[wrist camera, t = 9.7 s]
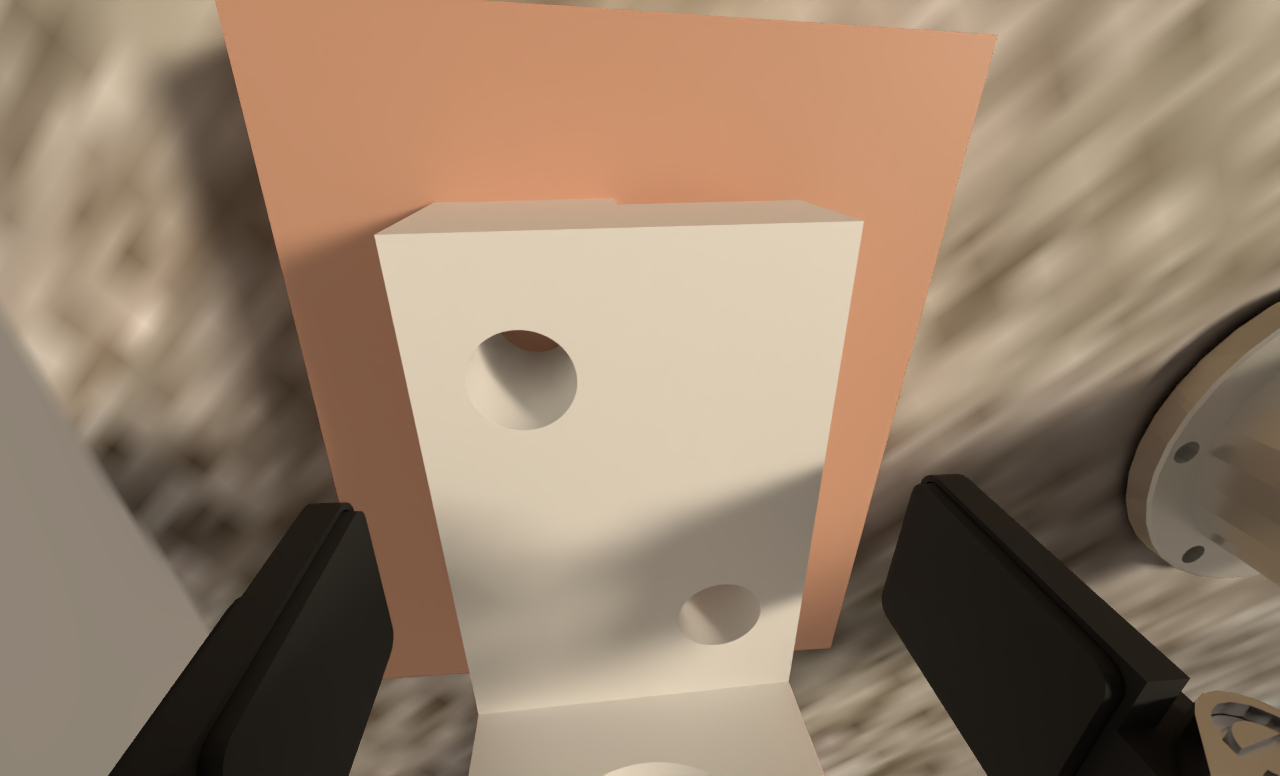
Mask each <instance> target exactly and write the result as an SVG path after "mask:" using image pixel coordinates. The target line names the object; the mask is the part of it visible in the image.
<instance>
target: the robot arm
mask: <svg viewBox="0 0 1280 776" xmlns="http://www.w3.org/2000/svg"><path fill="white" fill-rule="evenodd" d="M1126 504H1127V511H1128V519H1129V521H1130V523H1131V526H1132V528H1133V530H1134V532H1135V534H1136V536H1137V537H1138V538H1139V539H1140V540H1141V541H1142V542H1143V543H1144V544H1145V545H1146V546H1147V547H1148V548H1149V549H1150V550H1151V551H1153V552H1154V553H1155V554H1157V555H1158V556H1159V557H1161V558H1162V559H1164V560H1165V561H1166V562H1168V563H1169V564H1170V565H1172V566H1173V567H1175V568H1177V569H1179V570H1182V571H1185V572H1188V573H1191V574H1194V575H1197V576H1204V577H1214V578H1234V577H1247V576H1254V575H1259V574H1262V575H1264V576H1265V577H1267V578H1268V579H1270V580H1271V581H1273V582H1274V583H1276V584H1277V585H1279V586H1280V302H1278V303H1276V304H1274V305H1272V306H1270V307H1269V308H1267V309H1266V310H1264V311H1263V312H1261V313H1260V314H1258V315H1257V316H1255V317H1254V318H1252V319H1251V320H1249V321H1248V322H1247V323H1245V324H1244V325H1242V326H1241V327H1239V328H1238V329H1236V330H1235V331H1234V332H1232V333H1231V334H1230V335H1229V336H1228V337H1227V338H1225V339H1224V340H1223V341H1222V342H1221V343H1219V344H1218V345H1217V346H1216V347H1215V348H1214V349H1212V350H1211V351H1210V352H1209V353H1208V354H1207V355H1205V356H1204V357H1203V358H1202V359H1201V360H1200V361H1199V362H1198V363H1197V364H1196V365H1195V367H1194V368H1193V369H1192V370H1191V371H1190V372H1189V373H1188V374H1187V375H1186V376H1185V377H1184V378H1183V379H1182V380H1181V381H1180V383H1179V384H1178V385H1177V386H1176V387H1175V388H1174V389H1173V391H1172V392H1171V394H1170V395H1169V396H1168V398H1167V399H1166V400H1165V402H1164V403H1163V404H1162V406H1161V407H1160V409H1159V410H1158V411H1157V413H1156V414H1155V415H1154V417H1153V419H1152V421H1151V422H1150V424H1149V426H1148V428H1147V430H1146V432H1145V433H1144V435H1143V437H1142V439H1141V441H1140V443H1139V445H1138V447H1137V450H1136V453H1135V456H1134V459H1133V462H1132V465H1131V468H1130V470H1129V476H1128V484H1127V492H1126ZM882 605H883V609H884V612H885V614H886V616H887V618H888V619H889V621H890V623H891V624H892V626H893V627H894V629H895V630H896V632H897V634H898V635H899V637H900V638H901V640H902V641H903V643H904V645H905V646H906V648H907V649H908V651H909V652H910V654H911V656H912V657H913V659H914V660H915V662H916V664H917V665H918V667H919V668H920V670H921V671H922V673H923V675H924V676H925V678H926V679H927V681H928V682H929V684H930V686H931V687H932V689H933V690H934V692H935V694H936V695H937V697H938V698H939V700H940V701H941V703H942V705H943V706H944V708H945V709H946V711H947V712H948V714H949V716H950V717H951V719H952V720H953V722H954V723H955V725H956V727H957V728H958V730H959V731H960V733H961V735H962V736H963V738H964V739H965V741H966V742H967V744H968V746H969V747H970V749H971V750H972V752H973V753H974V755H975V757H976V758H977V760H978V761H979V763H980V764H981V766H982V768H983V769H984V771H985V772H986V774H987V776H1280V710H1279V709H1277V708H1275V707H1272V706H1270V705H1268V704H1266V703H1264V702H1262V701H1260V700H1257V699H1254V698H1250V697H1247V696H1244V695H1241V694H1238V693H1233V692H1224V691H1212V692H1207V693H1202V694H1201V695H1200V696H1199V697H1198V699H1197V700H1196V701H1195V702H1194V703H1193V702H1192V701H1191V700H1190V699H1189V698H1188V697H1187V696H1185V695H1184V694H1183V693H1182V692H1181V691H1182V689H1183V688H1184V686H1185V685H1186V684H1187V682H1188V681H1189V679H1190V678H1189V677H1188V676H1187V675H1186V674H1185V673H1184V672H1183V671H1181V670H1180V669H1179V668H1178V667H1177V666H1176V665H1175V664H1174V663H1173V662H1171V661H1170V660H1169V659H1168V658H1167V657H1166V656H1165V655H1164V654H1163V653H1161V652H1160V651H1159V650H1158V649H1157V648H1156V647H1155V646H1154V645H1153V644H1151V643H1150V642H1149V641H1148V640H1147V639H1146V638H1145V637H1144V636H1143V635H1141V634H1140V633H1139V632H1138V631H1137V630H1136V629H1135V628H1134V627H1133V626H1131V625H1130V624H1129V623H1128V622H1127V621H1126V620H1125V619H1124V618H1123V617H1121V616H1120V615H1119V614H1118V613H1117V612H1116V611H1115V610H1114V609H1113V608H1111V607H1110V606H1109V605H1108V604H1107V603H1106V602H1105V601H1104V600H1103V599H1101V598H1100V597H1099V596H1098V595H1097V594H1096V593H1095V592H1094V591H1093V590H1091V589H1090V588H1089V587H1088V586H1087V585H1086V584H1085V583H1084V582H1083V581H1081V580H1080V579H1079V578H1078V577H1077V576H1076V575H1075V574H1074V573H1073V572H1071V571H1070V570H1069V569H1068V568H1067V567H1066V566H1065V565H1064V564H1063V563H1061V562H1060V561H1059V560H1058V559H1057V558H1056V557H1055V556H1054V555H1053V554H1051V553H1050V552H1049V551H1048V550H1047V549H1046V548H1045V547H1044V546H1043V545H1041V544H1040V543H1039V542H1038V541H1037V540H1036V539H1035V538H1034V537H1033V536H1031V535H1030V534H1029V533H1028V532H1027V531H1026V530H1025V529H1024V528H1023V527H1021V526H1020V525H1019V524H1018V523H1017V522H1016V521H1015V520H1014V519H1013V518H1011V517H1010V516H1009V515H1008V514H1007V513H1006V512H1005V511H1004V510H1003V509H1001V508H1000V507H999V506H998V505H997V504H996V503H995V502H994V501H993V500H991V499H990V498H989V497H988V496H987V495H986V494H985V493H984V492H983V491H981V490H980V489H979V488H978V487H977V486H976V485H975V484H974V483H973V482H971V481H970V480H969V479H968V478H967V477H965V476H964V475H960V474H946V475H929V476H926V477H924V478H923V479H922V481H921V483H920V484H918V485H916V486H915V487H914V489H913V491H912V494H911V497H910V501H909V504H908V508H907V511H906V514H905V518H904V521H903V525H902V528H901V532H900V535H899V538H898V542H897V545H896V549H895V552H894V555H893V559H892V562H891V566H890V569H889V573H888V576H887V579H886V583H885V586H884V590H883V593H882ZM393 639H394V633H393V626H392V622H391V618H390V614H389V610H388V606H387V602H386V598H385V594H384V589H383V585H382V581H381V577H380V573H379V569H378V565H377V561H376V557H375V553H374V549H373V545H372V541H371V537H370V532H369V528H368V524H367V520H366V517H365V514H364V513H363V512H362V511H354V509H353V506H352V505H351V504H350V503H347V502H340V503H319V504H309V505H307V506H306V507H305V508H304V509H303V510H302V511H301V513H300V514H299V516H298V517H297V519H296V520H295V521H294V523H293V524H292V526H291V527H290V528H289V530H288V531H287V533H286V534H285V536H284V537H283V538H282V540H281V541H280V543H279V544H278V545H277V547H276V548H275V550H274V551H273V553H272V554H271V555H270V557H269V558H268V560H267V561H266V562H265V564H264V565H263V567H262V568H261V570H260V571H259V572H258V574H257V575H256V577H255V578H254V579H253V581H252V582H251V584H250V585H249V587H248V588H247V589H246V591H245V592H244V594H243V595H242V596H241V597H240V598H238V599H236V600H235V601H234V602H233V604H232V605H231V606H230V607H229V608H228V609H227V611H226V612H225V613H224V615H223V616H222V618H221V619H220V620H219V622H218V623H217V625H216V626H215V627H214V629H213V630H212V632H211V633H210V634H209V636H208V637H207V638H206V640H205V641H204V643H203V644H202V645H201V647H200V648H199V650H198V651H197V653H196V654H195V655H194V657H193V658H192V660H191V661H190V662H189V664H188V665H187V667H186V668H185V669H184V671H183V672H182V673H181V675H180V676H179V678H178V679H177V680H176V682H175V683H174V685H173V686H172V687H171V689H170V690H169V692H168V693H167V694H166V696H165V697H164V698H163V700H162V701H161V703H160V704H159V706H158V707H157V708H156V710H155V711H154V713H153V714H152V715H151V717H150V718H149V719H148V721H147V722H146V724H145V725H144V726H143V728H142V729H141V731H140V732H139V733H138V735H137V736H136V738H135V739H134V740H133V742H132V743H131V745H130V746H129V747H128V749H127V750H126V751H125V753H124V754H123V756H122V757H121V759H120V760H119V761H118V763H117V764H116V766H115V767H114V768H113V770H112V771H111V772H110V774H109V775H108V776H349V773H350V770H351V767H352V764H353V761H354V758H355V756H356V753H357V750H358V747H359V744H360V741H361V738H362V735H363V733H364V730H365V727H366V724H367V721H368V718H369V715H370V712H371V709H372V707H373V704H374V701H375V698H376V695H377V692H378V689H379V686H380V684H381V681H382V678H383V675H384V672H385V669H386V666H387V663H388V661H389V658H390V655H391V651H392V647H393Z"/></svg>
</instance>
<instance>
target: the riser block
mask: <svg viewBox="0 0 1280 776" xmlns="http://www.w3.org/2000/svg"><path fill="white" fill-rule="evenodd" d="M215 2H216V6H217V10H218V14H219V18H220V22H221V26H222V30H223V35H224V39H225V43H226V47H227V51H228V55H229V59H230V63H231V67H232V71H233V75H234V79H235V83H236V87H237V91H238V95H239V99H240V103H241V107H242V111H243V115H244V119H245V123H246V127H247V132H248V136H249V140H250V144H251V148H252V152H253V156H254V160H255V164H256V168H257V172H258V176H259V180H260V184H261V188H262V192H263V196H264V200H265V204H266V208H267V212H268V216H269V220H270V225H271V229H272V233H273V237H274V241H275V245H276V249H277V253H278V257H279V261H280V265H281V269H282V273H283V277H284V281H285V285H286V289H287V293H288V297H289V301H290V305H291V309H292V313H293V317H294V322H295V326H296V330H297V334H298V338H299V342H300V346H301V350H302V354H303V358H304V362H305V366H306V370H307V374H308V378H309V382H310V386H311V390H312V394H313V398H314V402H315V406H316V410H317V415H318V419H319V423H320V427H321V431H322V435H323V439H324V443H325V447H326V451H327V455H328V459H329V463H330V467H331V471H332V475H333V479H334V483H335V487H336V491H337V495H338V499H339V503H340V502H347V503H350V504H351V505H352V506H353V509H354V511H362V512H363V513H364V514H365V517H366V520H367V524H368V528H369V532H370V537H371V541H372V545H373V549H374V553H375V557H376V561H377V565H378V569H379V573H380V577H381V581H382V585H383V589H384V594H385V598H386V602H387V606H388V610H389V614H390V618H391V622H392V626H393V633H394V639H393V647H392V651H391V655H390V658H389V661H388V663H387V666H386V669H385V672H384V675H383V679H389V678H403V677H418V676H432V675H447V674H462V673H469V668H468V664H467V659H466V655H465V650H464V645H463V641H462V636H461V632H460V627H459V622H458V618H457V613H456V609H455V604H454V599H453V595H452V590H451V586H450V581H449V576H448V572H447V567H446V563H445V558H444V553H443V549H442V544H441V540H440V535H439V530H438V526H437V521H436V517H435V512H434V508H433V503H432V498H431V494H430V489H429V485H428V480H427V475H426V471H425V466H424V462H423V457H422V452H421V448H420V443H419V439H418V434H417V429H416V425H415V420H414V416H413V411H412V406H411V402H410V397H409V393H408V388H407V383H406V379H405V374H404V370H403V365H402V360H401V356H400V351H399V347H398V342H397V337H396V333H395V328H394V324H393V319H392V314H391V310H390V305H389V301H388V296H387V291H386V287H385V282H384V278H383V273H382V269H381V264H380V259H379V255H378V250H377V246H376V241H375V236H374V235H375V234H377V233H378V232H380V231H382V230H384V229H386V228H388V227H390V226H391V225H393V224H395V223H397V222H399V221H401V220H402V219H404V218H406V217H408V216H410V215H412V214H414V213H415V212H417V211H419V210H421V209H423V208H425V207H427V206H428V205H430V204H432V203H438V202H481V201H524V200H567V199H610V198H614V200H615V202H616V204H652V203H693V202H735V201H776V200H802V201H805V202H808V203H811V204H814V205H817V206H820V207H823V208H826V209H829V210H832V211H835V212H838V213H841V214H844V215H847V216H850V217H853V218H856V219H859V220H862V221H864V224H863V230H862V236H861V242H860V248H859V254H858V261H857V267H856V273H855V279H854V285H853V291H852V297H851V303H850V309H849V316H848V322H847V328H846V334H845V340H844V346H843V352H842V358H841V364H840V370H839V377H838V383H837V389H836V395H835V401H834V407H833V413H832V419H831V425H830V432H829V438H828V444H827V450H826V456H825V462H824V468H823V474H822V480H821V486H820V493H819V499H818V505H817V511H816V517H815V523H814V529H813V535H812V541H811V547H810V554H809V560H808V566H807V572H806V578H805V584H804V590H803V596H802V602H801V609H800V615H799V621H798V627H797V633H796V639H795V645H794V651H796V650H811V649H825V648H831V644H832V640H833V637H834V633H835V629H836V626H837V622H838V618H839V615H840V611H841V607H842V604H843V600H844V596H845V593H846V589H847V586H848V582H849V578H850V575H851V571H852V567H853V564H854V560H855V556H856V553H857V549H858V545H859V542H860V538H861V534H862V531H863V527H864V523H865V520H866V516H867V512H868V509H869V505H870V501H871V498H872V494H873V490H874V487H875V483H876V479H877V476H878V472H879V468H880V465H881V461H882V457H883V454H884V450H885V446H886V443H887V439H888V435H889V432H890V428H891V424H892V421H893V417H894V413H895V410H896V406H897V402H898V399H899V395H900V391H901V388H902V384H903V380H904V377H905V373H906V369H907V366H908V362H909V358H910V355H911V351H912V347H913V344H914V340H915V336H916V333H917V329H918V325H919V322H920V318H921V314H922V311H923V307H924V304H925V300H926V296H927V293H928V289H929V285H930V282H931V278H932V274H933V271H934V267H935V263H936V260H937V256H938V252H939V249H940V245H941V241H942V238H943V234H944V230H945V227H946V223H947V219H948V216H949V212H950V208H951V205H952V201H953V197H954V194H955V190H956V186H957V183H958V179H959V175H960V172H961V168H962V164H963V161H964V157H965V153H966V150H967V146H968V142H969V139H970V135H971V131H972V128H973V124H974V120H975V117H976V113H977V109H978V106H979V102H980V98H981V95H982V91H983V87H984V84H985V80H986V76H987V73H988V69H989V65H990V62H991V58H992V54H993V51H994V47H995V43H996V40H997V36H998V35H993V34H978V33H963V32H948V31H933V30H918V29H903V28H888V27H873V26H858V25H843V24H829V23H814V22H799V21H784V20H769V19H754V18H739V17H724V16H709V15H694V14H679V13H664V12H649V11H634V10H619V9H604V8H589V7H575V6H560V5H545V4H530V3H515V2H500V1H485V0H215ZM501 333H502V334H503V336H504V337H505V338H506V339H507V340H508V341H509V342H511V343H512V344H514V345H515V346H517V347H519V348H521V349H524V350H527V351H534V352H542V351H548V350H551V349H554V348H556V347H558V346H560V345H559V344H558V343H556V342H555V341H554V340H552V339H550V338H549V337H547V336H544V335H542V334H539V333H536V332H532V331H526V330H511V331H505V332H501Z"/></svg>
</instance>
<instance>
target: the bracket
mask: <svg viewBox="0 0 1280 776" xmlns="http://www.w3.org/2000/svg"><path fill="white" fill-rule="evenodd" d="M863 224H864V221H862V220H859V219H856V218H853V217H850V216H847V215H844V214H841V213H838V212H835V211H832V210H829V209H826V208H823V207H820V206H817V205H814V204H811V203H808V202H805V201H802V200H776V201H735V202H693V203H652V204H616V202H615V200H614V198H610V199H567V200H524V201H481V202H438V203H432V204H430V205H428V206H427V207H425V208H423V209H421V210H419V211H417V212H415V213H414V214H412V215H410V216H408V217H406V218H404V219H402V220H401V221H399V222H397V223H395V224H393V225H391V226H390V227H388V228H386V229H384V230H382V231H380V232H378V233H377V234H375V235H374V236H375V241H376V246H377V250H378V255H379V259H380V264H381V269H382V273H383V278H384V282H385V287H386V291H387V296H388V301H389V305H390V310H391V314H392V319H393V324H394V328H395V333H396V337H397V342H398V347H399V351H400V356H401V360H402V365H403V370H404V374H405V379H406V383H407V388H408V393H409V397H410V402H411V406H412V411H413V416H414V420H415V425H416V429H417V434H418V439H419V443H420V448H421V452H422V457H423V462H424V466H425V471H426V475H427V480H428V485H429V489H430V494H431V498H432V503H433V508H434V512H435V517H436V521H437V526H438V530H439V535H440V540H441V544H442V549H443V553H444V558H445V563H446V567H447V572H448V576H449V581H450V586H451V590H452V595H453V599H454V604H455V609H456V613H457V618H458V622H459V627H460V632H461V636H462V641H463V645H464V650H465V655H466V659H467V664H468V668H469V673H470V678H471V682H472V687H473V691H474V696H475V701H476V705H477V710H478V714H479V715H478V721H477V727H476V733H475V739H474V745H473V751H472V757H471V763H470V769H469V776H825V775H824V772H823V770H822V767H821V765H820V762H819V759H818V757H817V754H816V752H815V749H814V746H813V744H812V741H811V738H810V736H809V733H808V731H807V728H806V725H805V723H804V720H803V718H802V715H801V712H800V710H799V707H798V705H797V702H796V699H795V697H794V694H793V692H792V689H791V686H790V684H789V676H790V670H791V663H792V657H793V651H794V645H795V639H796V633H797V627H798V621H799V615H800V609H801V602H802V596H803V590H804V584H805V578H806V572H807V566H808V560H809V554H810V547H811V541H812V535H813V529H814V523H815V517H816V511H817V505H818V499H819V493H820V486H821V480H822V474H823V468H824V462H825V456H826V450H827V444H828V438H829V432H830V425H831V419H832V413H833V407H834V401H835V395H836V389H837V383H838V377H839V370H840V364H841V358H842V352H843V346H844V340H845V334H846V328H847V322H848V316H849V309H850V303H851V297H852V291H853V285H854V279H855V273H856V267H857V261H858V254H859V248H860V242H861V236H862V230H863ZM511 330H526V331H532V332H536V333H539V334H542V335H544V336H547V337H549V338H550V339H552V340H554V341H555V342H556V343H558V344H559V345H560V346H558V347H556V348H554V349H551V350H548V351H542V352H534V351H527V350H524V349H521V348H519V347H517V346H515V345H514V344H512V343H511V342H509V341H508V340H507V339H506V338H505V337H504V336H503V334H502V333H501V332H505V331H511Z"/></svg>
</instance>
